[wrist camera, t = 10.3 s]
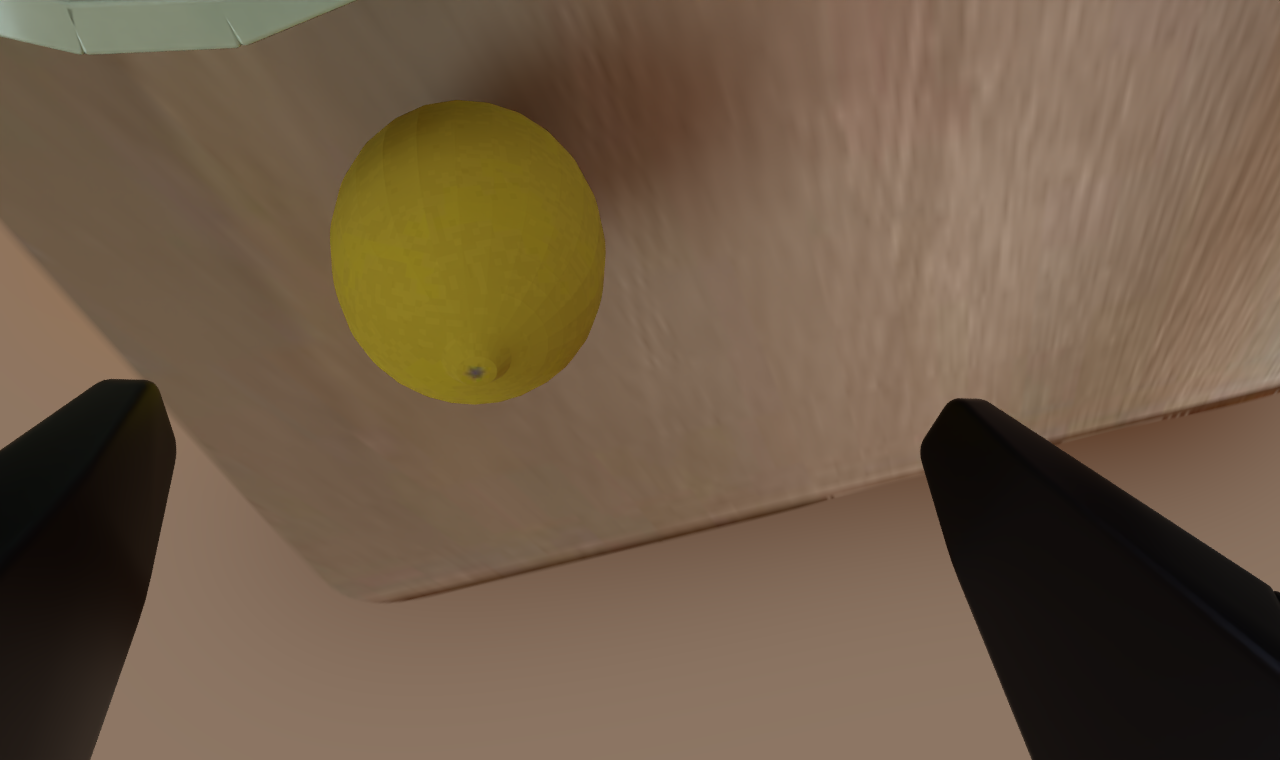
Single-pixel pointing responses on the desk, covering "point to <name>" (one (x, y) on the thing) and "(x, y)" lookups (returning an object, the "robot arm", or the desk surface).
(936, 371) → the desk surface
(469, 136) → the lemon
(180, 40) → the bowl
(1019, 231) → the desk surface
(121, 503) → the robot arm
